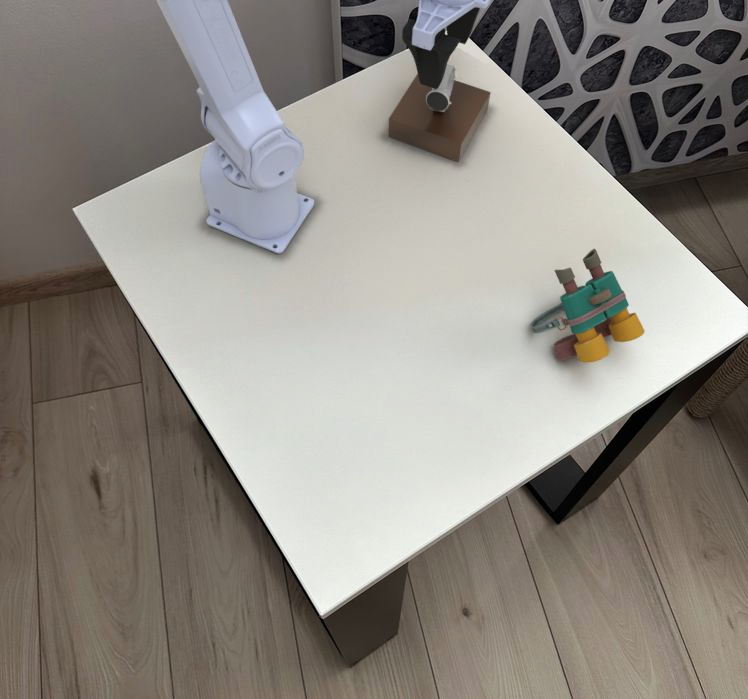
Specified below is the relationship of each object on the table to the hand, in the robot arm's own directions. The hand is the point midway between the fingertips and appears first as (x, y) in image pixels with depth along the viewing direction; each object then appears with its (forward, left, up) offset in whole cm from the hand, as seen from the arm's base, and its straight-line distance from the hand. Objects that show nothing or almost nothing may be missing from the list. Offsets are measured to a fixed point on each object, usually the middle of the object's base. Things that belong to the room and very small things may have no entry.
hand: (443, 61), depth 83 cm
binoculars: (+25, -21, -10) cm, 34 cm away
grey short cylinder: (0, 0, -7) cm, 7 cm away
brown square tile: (0, 0, -9) cm, 9 cm away
